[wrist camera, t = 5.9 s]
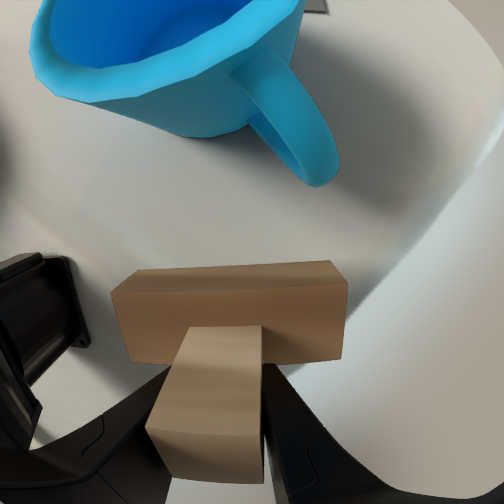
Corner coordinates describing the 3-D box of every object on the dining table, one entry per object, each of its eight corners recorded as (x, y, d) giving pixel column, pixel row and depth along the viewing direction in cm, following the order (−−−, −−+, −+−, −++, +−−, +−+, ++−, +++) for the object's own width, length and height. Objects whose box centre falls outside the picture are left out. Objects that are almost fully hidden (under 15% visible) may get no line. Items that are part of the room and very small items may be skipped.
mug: (108, 73, 11) (8, 27, 4) (221, -14, 10) (193, -110, 2) (243, 231, 14) (218, 310, 6) (369, 133, 12) (478, 104, 4)
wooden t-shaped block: (326, 339, 12) (370, 470, 5) (154, 343, 12) (89, 456, 5) (329, 260, 11) (411, 370, 4) (137, 270, 11) (31, 362, 4)
